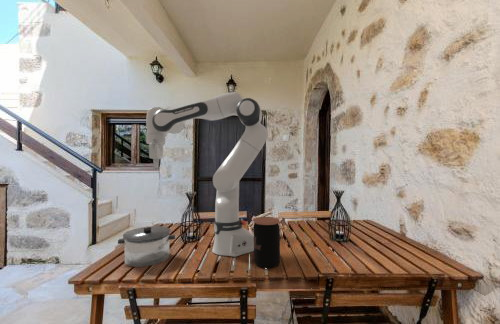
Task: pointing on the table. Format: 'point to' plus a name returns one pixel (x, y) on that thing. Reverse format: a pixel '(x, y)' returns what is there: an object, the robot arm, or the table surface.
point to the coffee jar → (266, 242)
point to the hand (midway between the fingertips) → (156, 167)
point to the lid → (146, 233)
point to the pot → (146, 251)
